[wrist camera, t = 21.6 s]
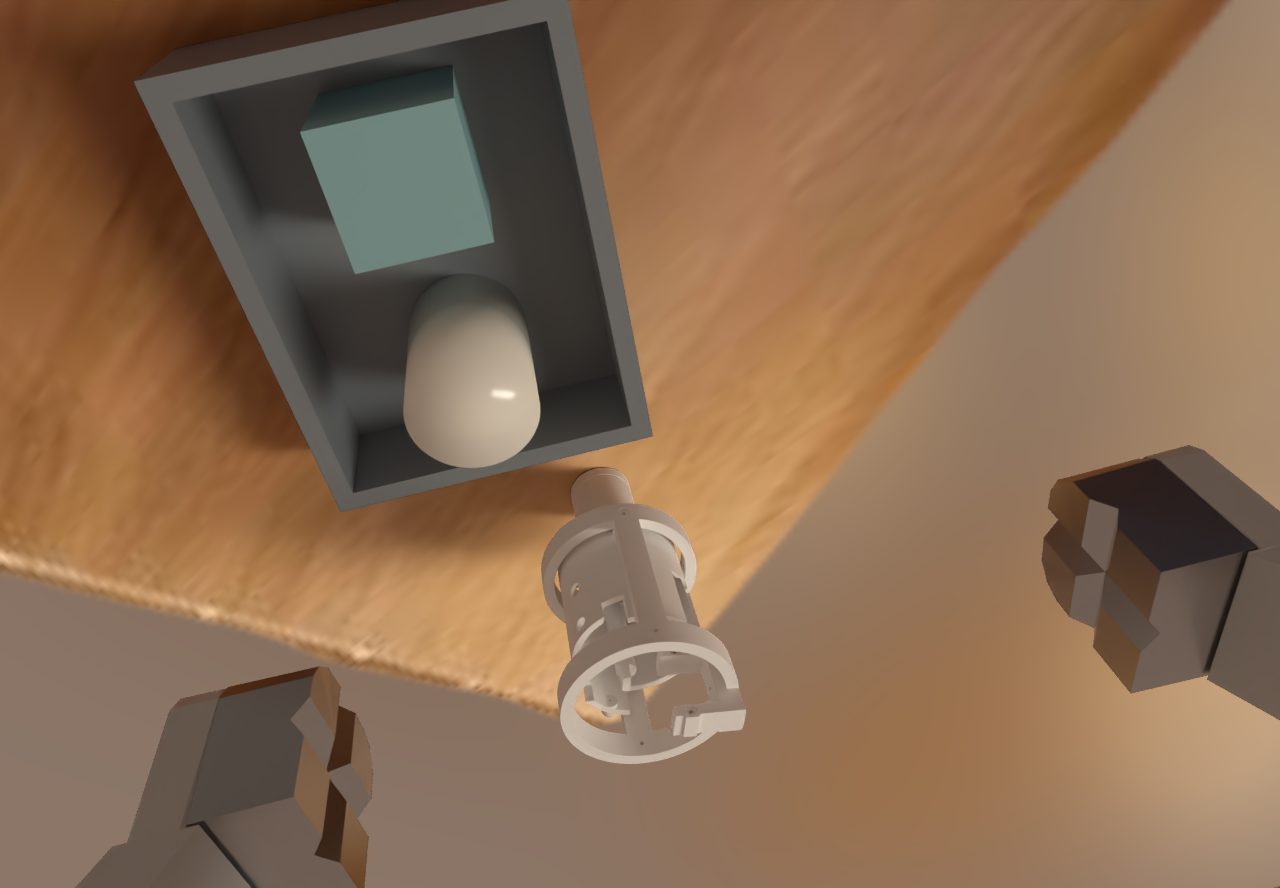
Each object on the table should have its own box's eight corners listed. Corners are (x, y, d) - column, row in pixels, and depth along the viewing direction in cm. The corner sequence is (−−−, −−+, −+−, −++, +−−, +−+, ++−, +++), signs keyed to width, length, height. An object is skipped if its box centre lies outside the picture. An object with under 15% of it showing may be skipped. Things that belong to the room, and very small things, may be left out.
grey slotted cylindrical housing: (660, 540, 48) (733, 778, 36) (530, 547, 47) (561, 797, 35) (673, 432, 44) (759, 658, 32) (532, 437, 43) (566, 675, 31)
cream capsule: (393, 289, 37) (383, 372, 31) (510, 262, 37) (522, 339, 31) (429, 388, 40) (427, 481, 34) (538, 362, 40) (553, 450, 34)
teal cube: (365, 223, 35) (355, 274, 31) (318, 94, 32) (299, 132, 28) (488, 195, 35) (494, 242, 31) (452, 65, 32) (453, 97, 28)
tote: (173, 49, 31) (133, 81, 27) (550, -32, 32) (566, -12, 28) (351, 445, 41) (341, 512, 37) (632, 378, 42) (652, 436, 38)
